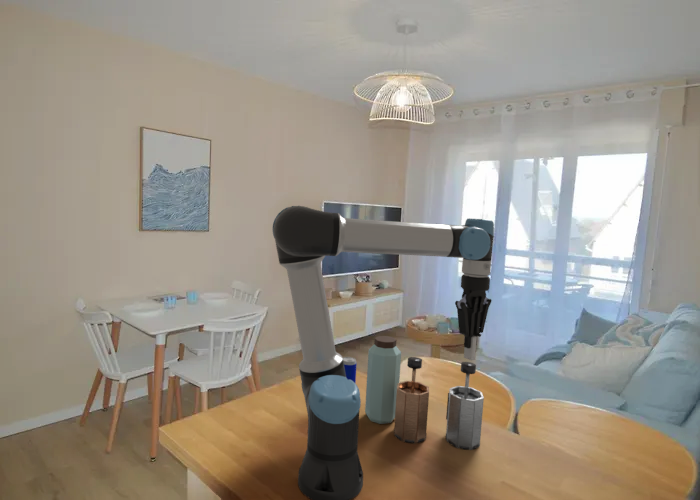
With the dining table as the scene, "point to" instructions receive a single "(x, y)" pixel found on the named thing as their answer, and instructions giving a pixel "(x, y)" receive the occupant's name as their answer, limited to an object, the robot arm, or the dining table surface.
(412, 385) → the copper press plunger
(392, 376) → the water bottle
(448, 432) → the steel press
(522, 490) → the dining table surface
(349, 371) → the beverage can
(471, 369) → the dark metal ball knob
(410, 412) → the copper press
